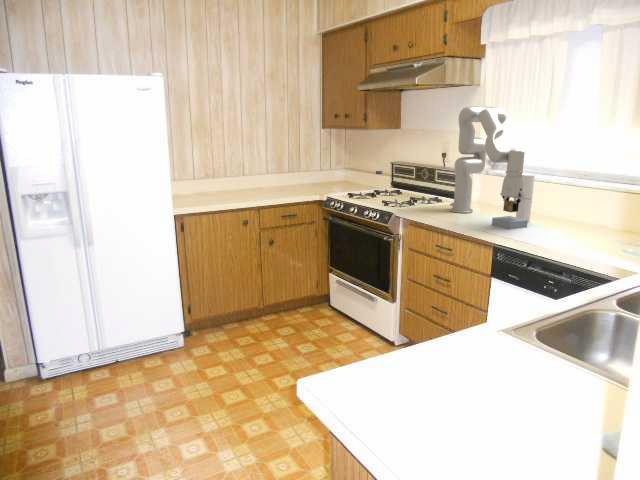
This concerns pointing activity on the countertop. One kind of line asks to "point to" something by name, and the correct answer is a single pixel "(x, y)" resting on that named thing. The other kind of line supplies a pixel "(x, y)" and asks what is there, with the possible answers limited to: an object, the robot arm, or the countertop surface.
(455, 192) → the robot arm
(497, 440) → the countertop surface
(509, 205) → the walnut cube
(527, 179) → the cylindrical container
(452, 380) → the countertop surface
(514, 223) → the grey base block
